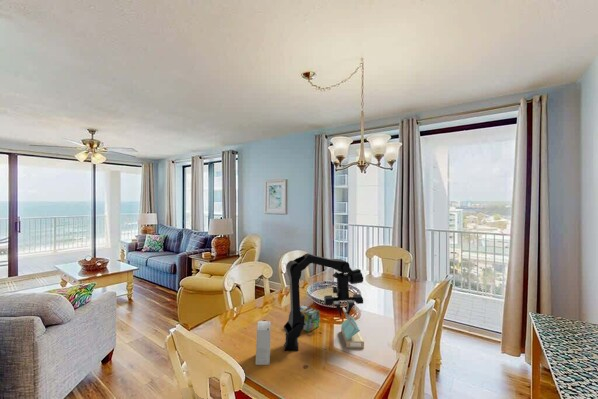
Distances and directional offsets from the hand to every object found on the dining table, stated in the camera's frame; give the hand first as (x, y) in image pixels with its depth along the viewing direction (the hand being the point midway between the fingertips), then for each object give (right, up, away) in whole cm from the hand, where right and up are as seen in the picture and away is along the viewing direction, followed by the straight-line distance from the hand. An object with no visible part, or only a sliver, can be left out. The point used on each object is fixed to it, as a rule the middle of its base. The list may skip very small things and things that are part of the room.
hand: (344, 316), depth 132 cm
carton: (+4, -11, 0) cm, 12 cm away
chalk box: (-23, -6, +17) cm, 29 cm away
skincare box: (-38, -10, -18) cm, 43 cm away
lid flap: (+3, -5, 0) cm, 6 cm away
